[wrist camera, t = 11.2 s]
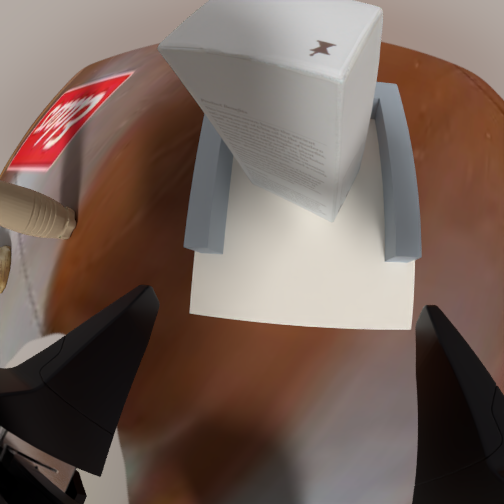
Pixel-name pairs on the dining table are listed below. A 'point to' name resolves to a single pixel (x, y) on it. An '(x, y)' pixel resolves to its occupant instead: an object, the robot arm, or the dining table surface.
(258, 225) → the stop cradle
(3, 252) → the chocolate bunny
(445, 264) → the dining table surface
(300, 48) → the skincare box
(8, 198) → the handle
